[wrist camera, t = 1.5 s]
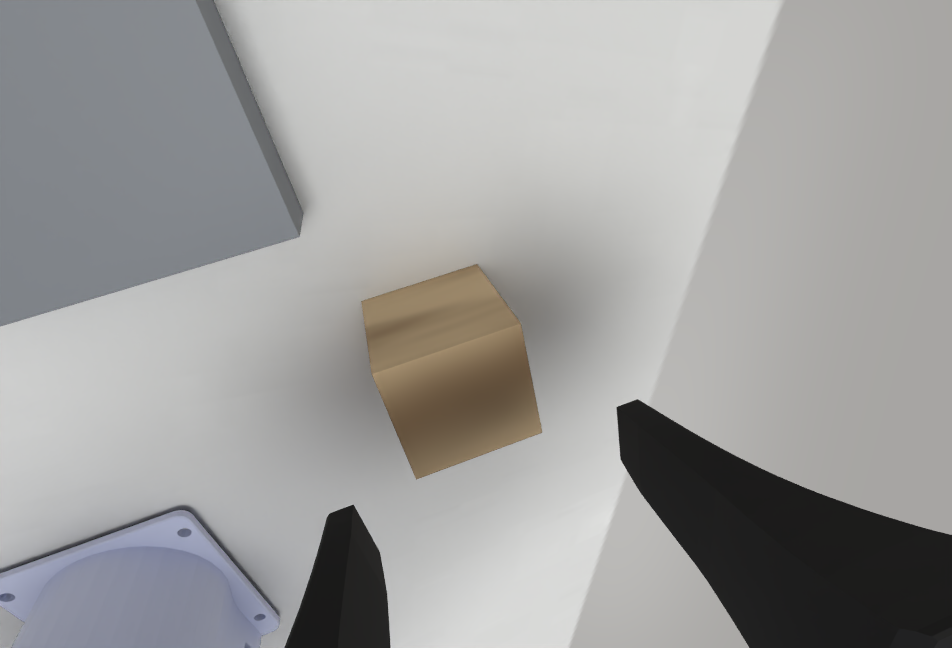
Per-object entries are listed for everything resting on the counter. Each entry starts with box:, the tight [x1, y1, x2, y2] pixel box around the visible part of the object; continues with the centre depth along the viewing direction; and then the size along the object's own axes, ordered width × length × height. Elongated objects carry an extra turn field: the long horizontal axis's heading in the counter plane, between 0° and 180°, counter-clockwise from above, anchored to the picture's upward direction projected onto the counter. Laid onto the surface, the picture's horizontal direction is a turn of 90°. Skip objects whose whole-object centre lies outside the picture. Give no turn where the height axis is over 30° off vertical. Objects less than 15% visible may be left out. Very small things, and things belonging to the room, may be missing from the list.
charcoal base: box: [0, 0, 303, 326], centre depth 12 cm, size 10×10×3 cm
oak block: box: [361, 264, 542, 479], centre depth 17 cm, size 5×5×5 cm
